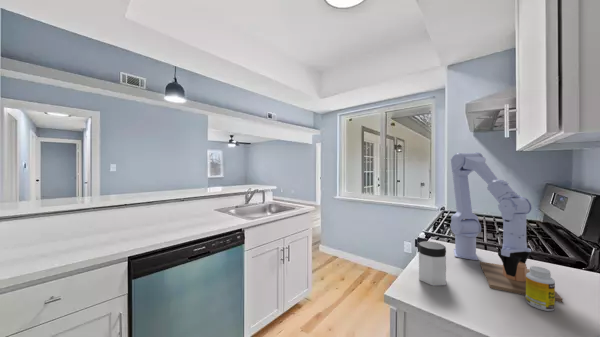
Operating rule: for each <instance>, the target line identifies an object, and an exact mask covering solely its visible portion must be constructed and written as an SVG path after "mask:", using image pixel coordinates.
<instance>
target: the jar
mask: <svg viewBox="0 0 600 337" xmlns="http://www.w3.org/2000/svg"><path fill="white" fill-rule="evenodd" d="M446 254H447V248H446V245H444V244H442V243H440V242H435V241H427V240H424V241H419V243H418V280H419V281H421V282H422V283H426V284H427V285H430V286H434V287H436V286H446V285H447V257H446Z"/></svg>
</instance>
